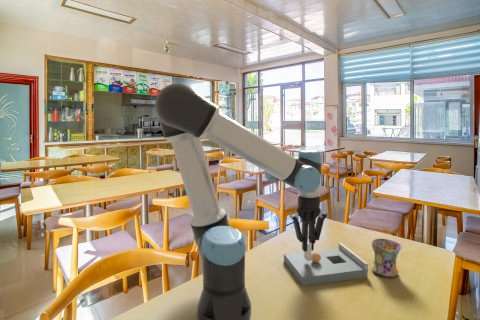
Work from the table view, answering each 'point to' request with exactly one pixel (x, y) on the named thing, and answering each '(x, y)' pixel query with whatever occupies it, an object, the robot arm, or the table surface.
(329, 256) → the board
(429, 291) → the table surface
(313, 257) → the ball
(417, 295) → the table surface
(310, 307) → the table surface
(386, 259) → the mug
